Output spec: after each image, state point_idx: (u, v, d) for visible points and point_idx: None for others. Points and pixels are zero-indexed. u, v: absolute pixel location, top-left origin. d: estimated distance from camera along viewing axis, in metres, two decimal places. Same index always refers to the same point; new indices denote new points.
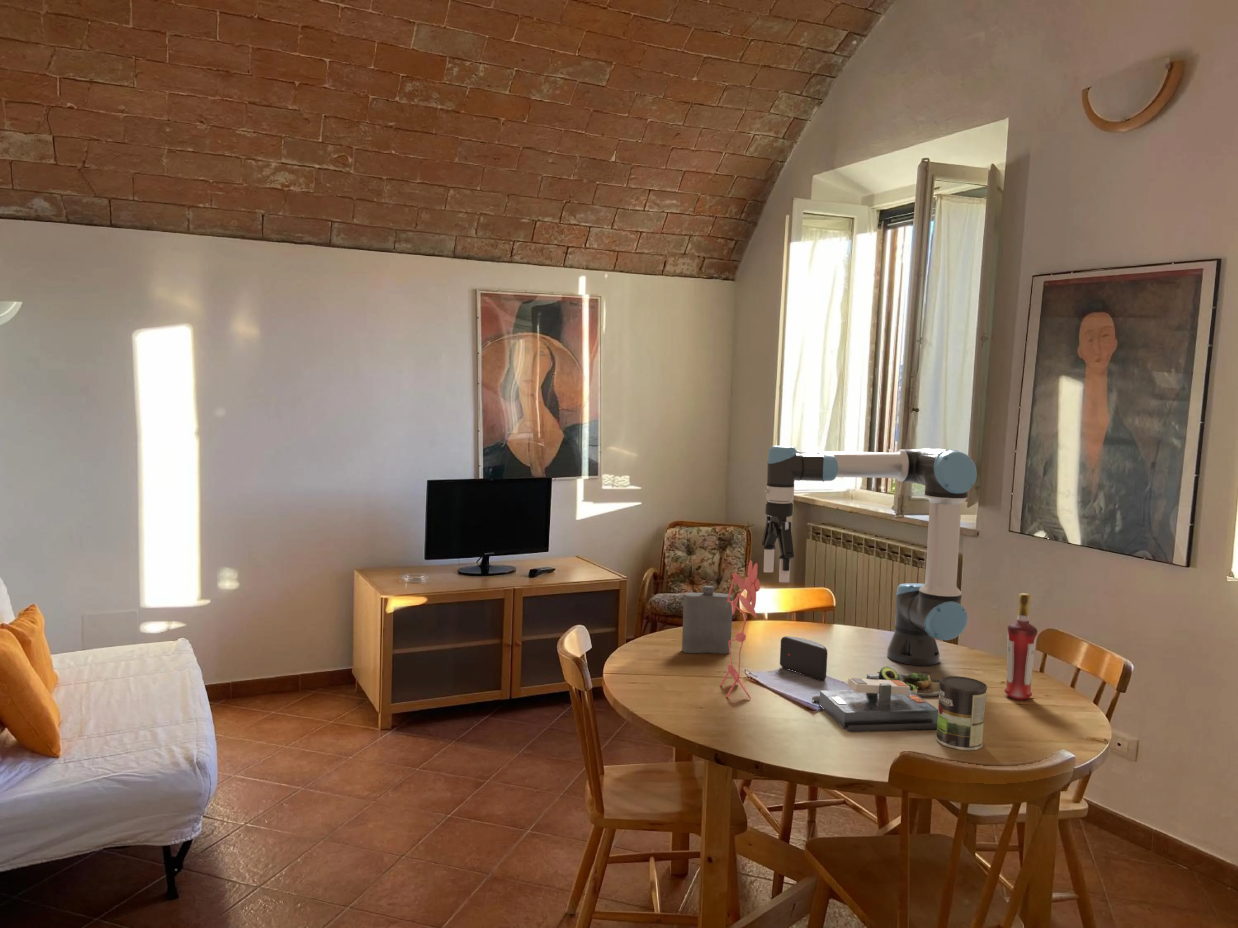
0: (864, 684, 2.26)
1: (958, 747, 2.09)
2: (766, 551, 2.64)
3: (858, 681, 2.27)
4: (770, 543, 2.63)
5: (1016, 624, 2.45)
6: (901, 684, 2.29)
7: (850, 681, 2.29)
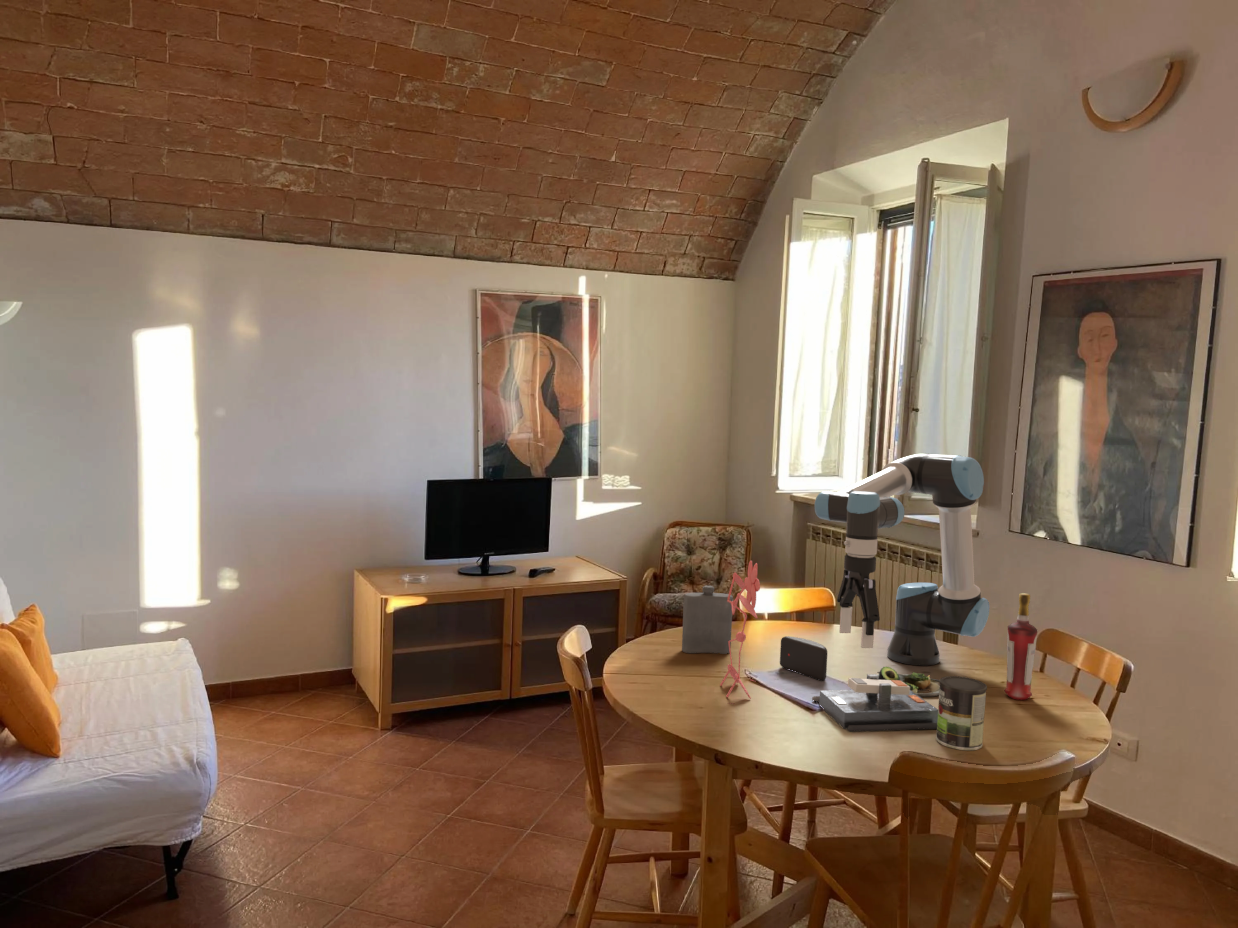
0: (864, 684, 2.26)
1: (958, 747, 2.09)
2: (843, 609, 2.34)
3: (858, 681, 2.27)
4: (847, 600, 2.33)
5: (1016, 624, 2.45)
6: (901, 684, 2.29)
7: (850, 681, 2.29)
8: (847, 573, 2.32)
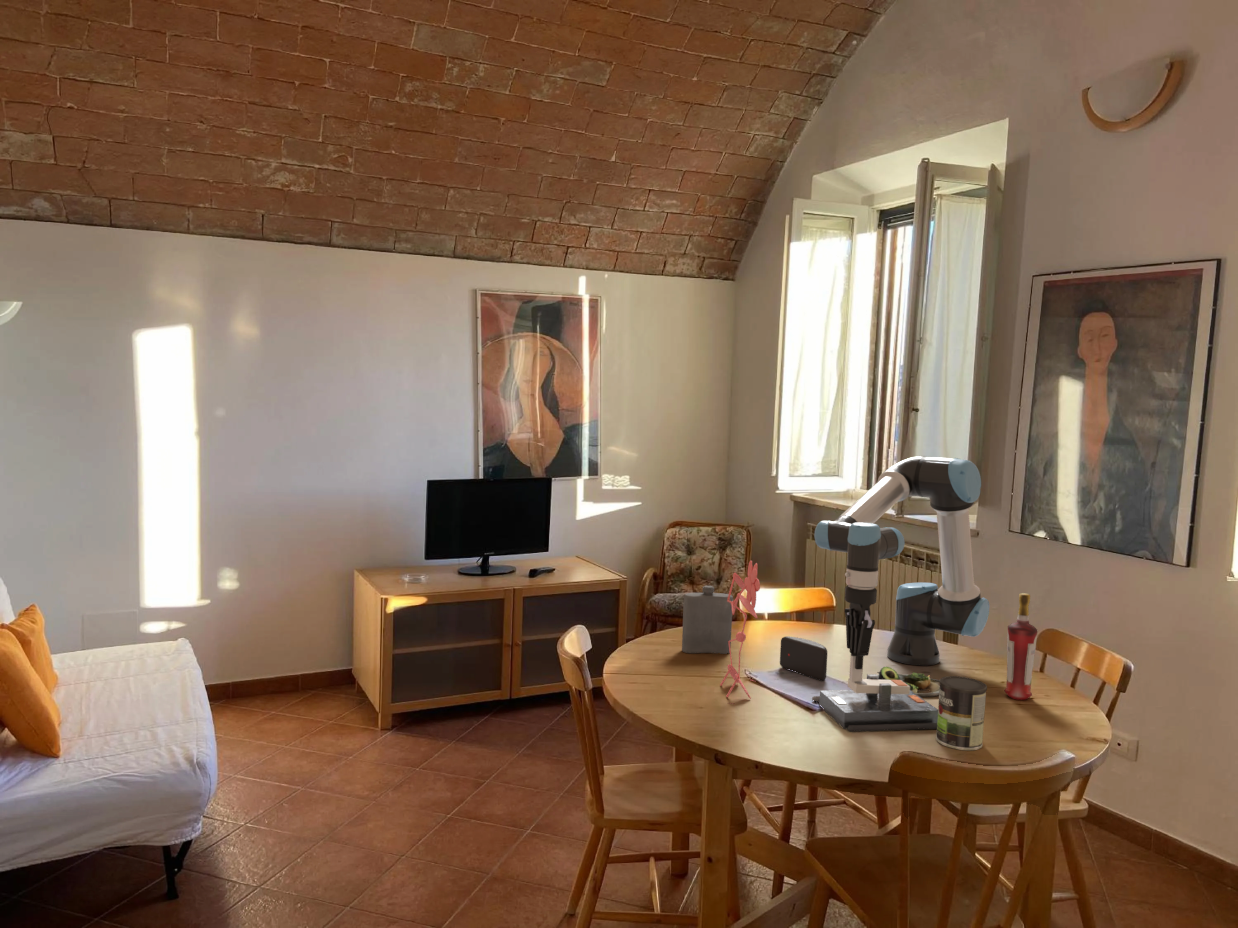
0: (864, 684, 2.26)
1: (958, 747, 2.09)
2: None
3: None
4: None
5: (1016, 624, 2.45)
6: (901, 684, 2.29)
7: (850, 682, 2.29)
8: (848, 611, 2.32)
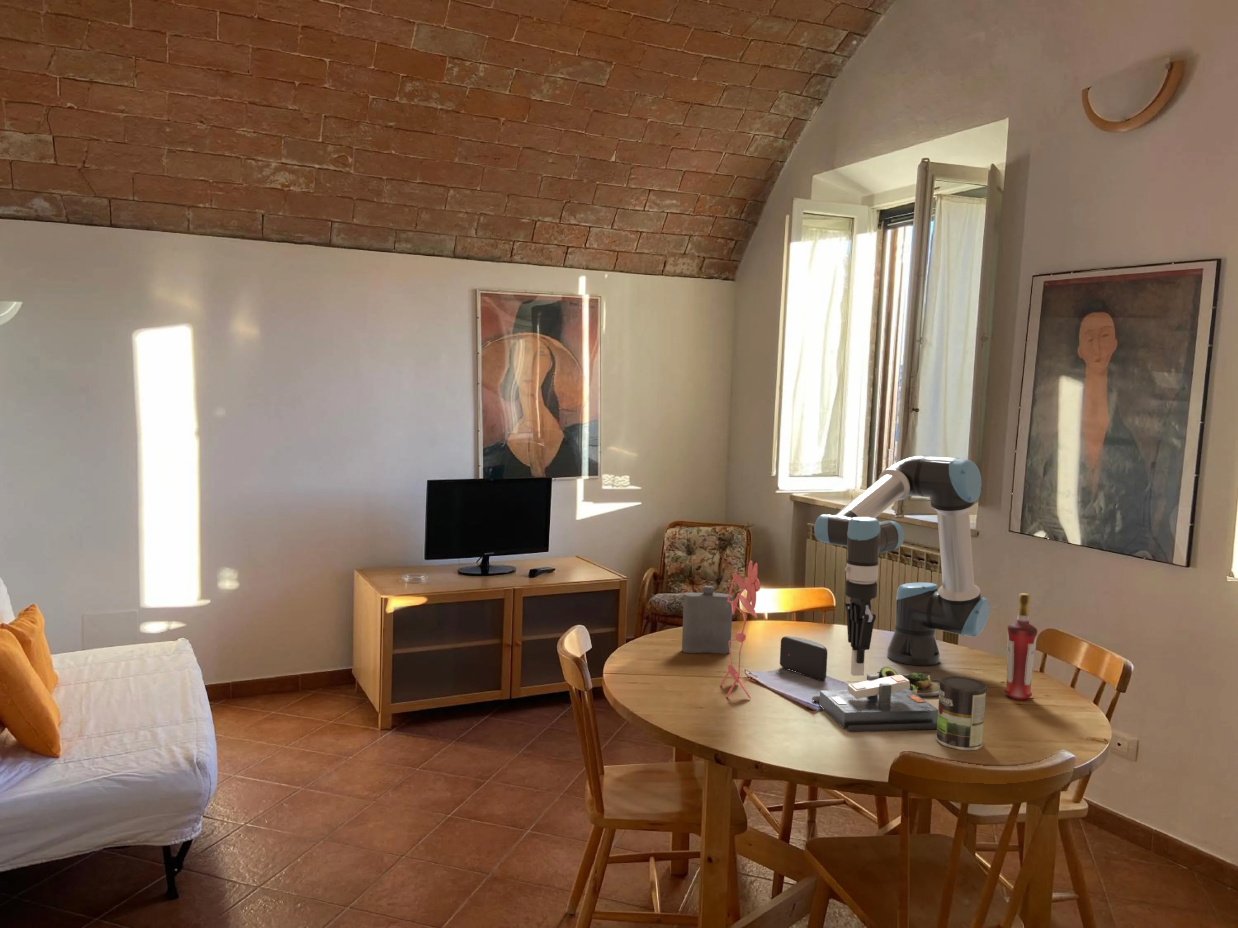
0: (863, 689, 2.26)
1: (958, 747, 2.09)
2: None
3: (857, 686, 2.27)
4: None
5: (1016, 624, 2.45)
6: (900, 679, 2.29)
7: (850, 688, 2.29)
8: (849, 605, 2.32)
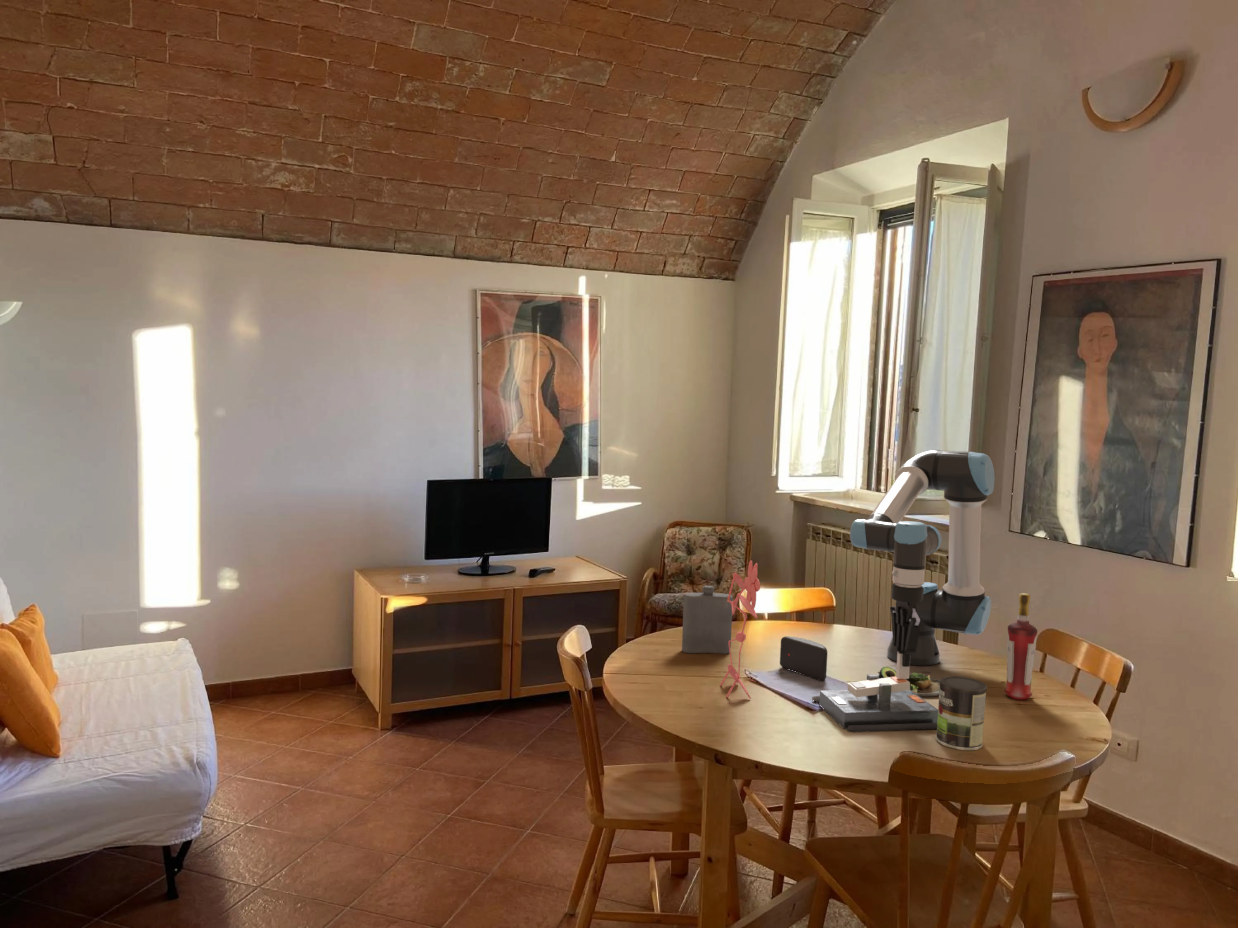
0: (863, 688, 2.26)
1: (958, 747, 2.09)
2: None
3: (857, 685, 2.27)
4: None
5: (1016, 624, 2.45)
6: (900, 680, 2.29)
7: (849, 686, 2.29)
8: (894, 609, 2.33)
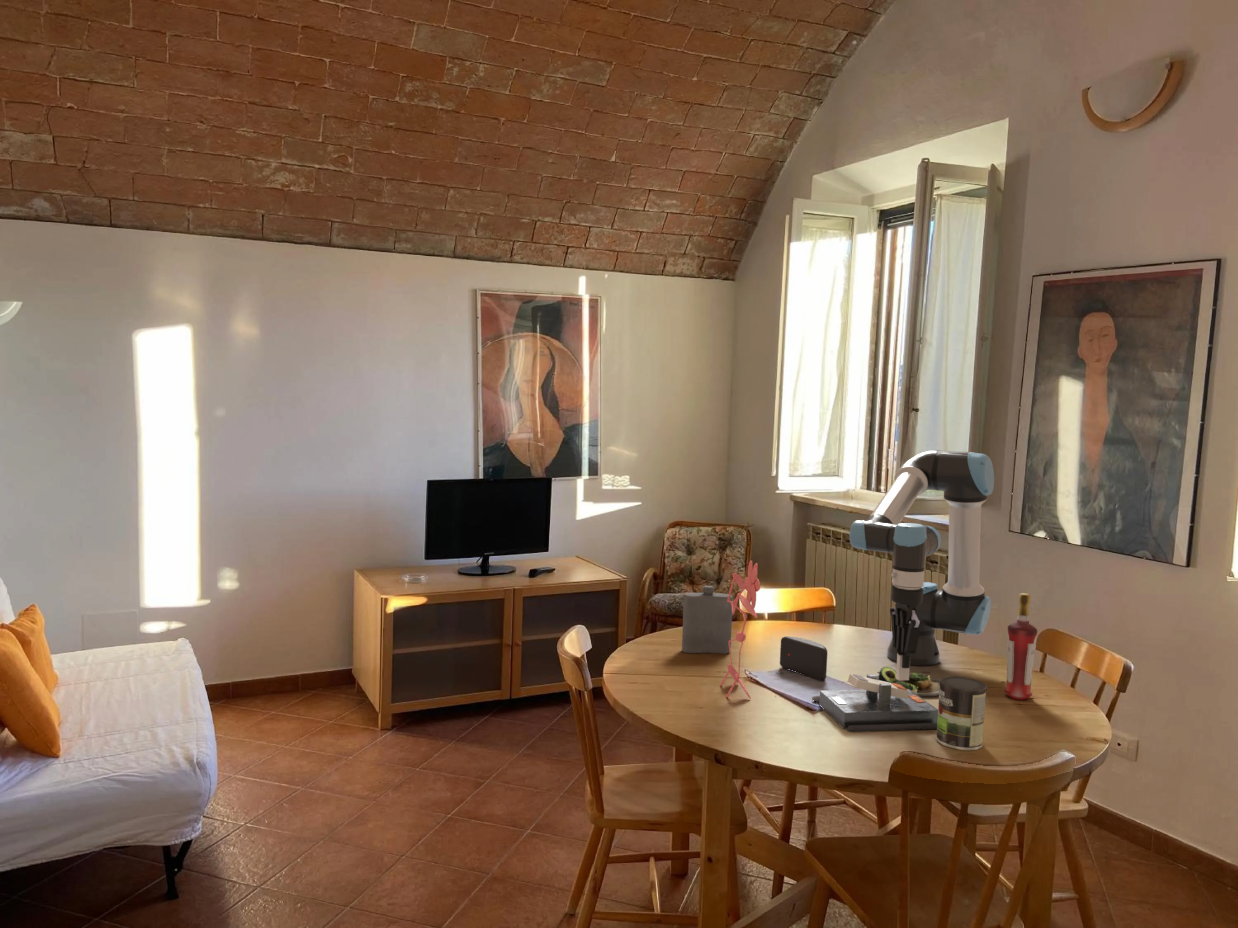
0: (865, 681, 2.26)
1: (958, 747, 2.09)
2: None
3: (859, 677, 2.27)
4: None
5: (1016, 624, 2.45)
6: (901, 687, 2.29)
7: (851, 677, 2.29)
8: (893, 610, 2.34)
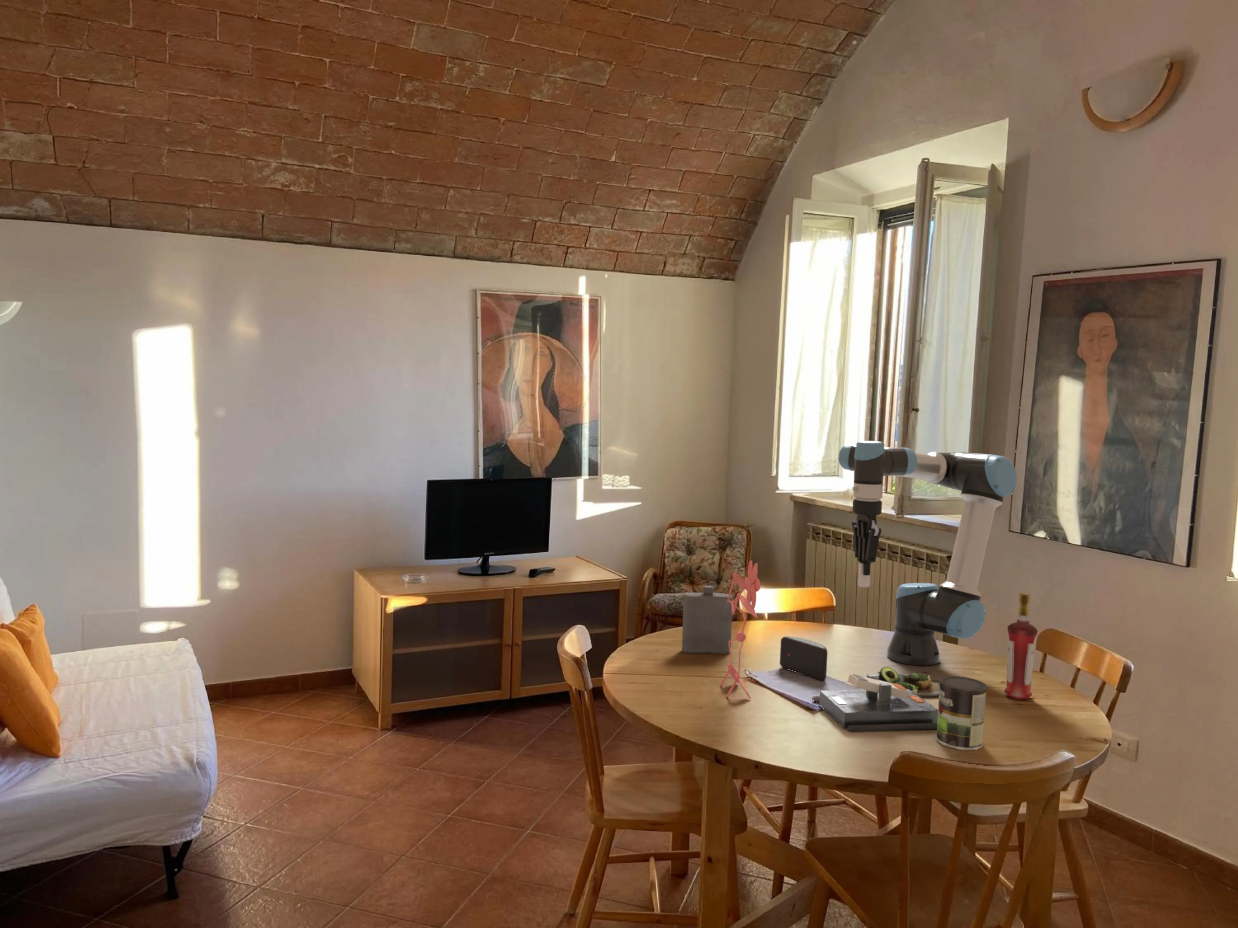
0: (865, 681, 2.26)
1: (958, 747, 2.09)
2: None
3: (859, 677, 2.27)
4: None
5: (1016, 624, 2.45)
6: (901, 687, 2.29)
7: (851, 677, 2.29)
8: (855, 523, 2.51)
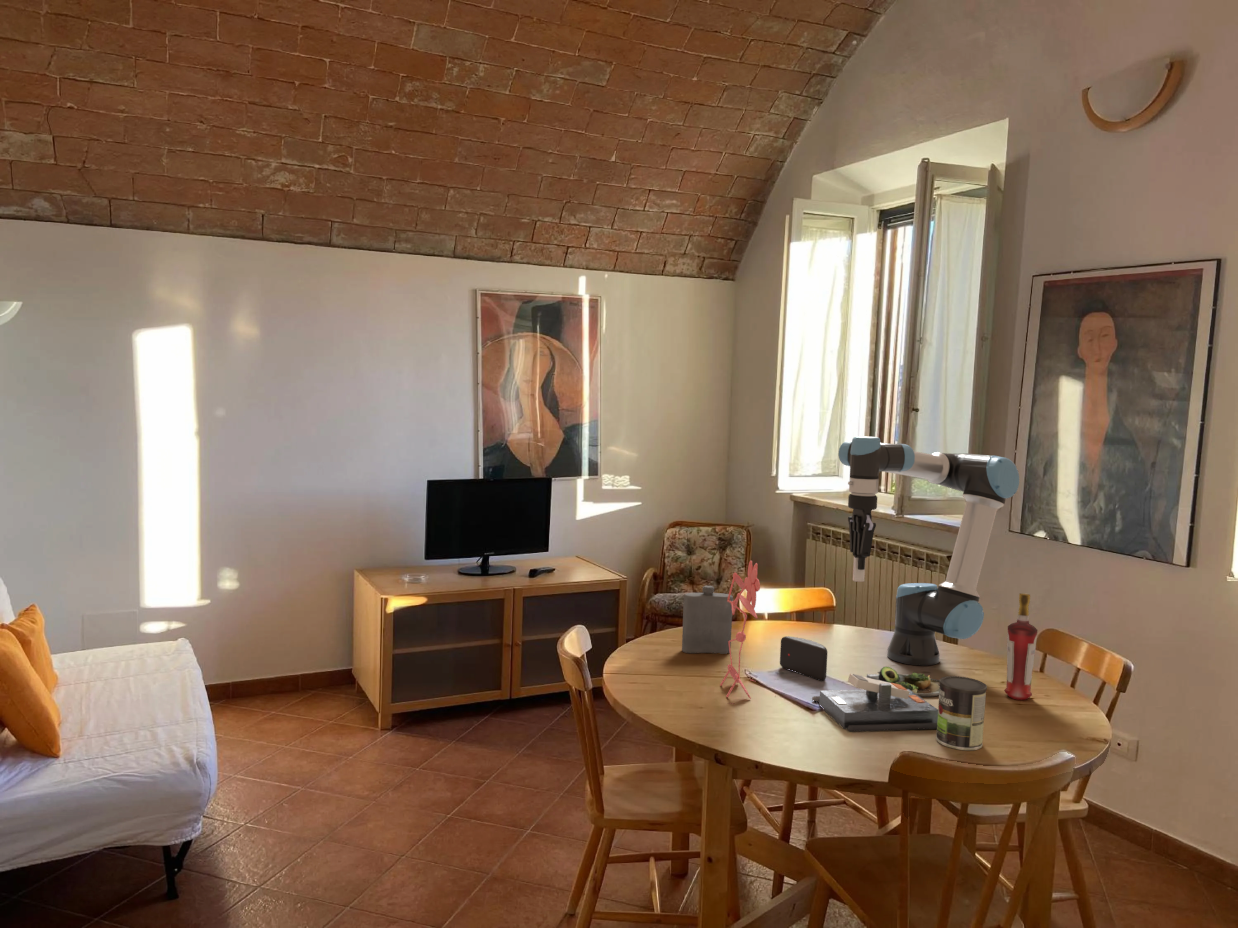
0: (865, 681, 2.26)
1: (958, 747, 2.09)
2: None
3: (859, 677, 2.27)
4: None
5: (1016, 624, 2.45)
6: (901, 687, 2.29)
7: (851, 677, 2.29)
8: (851, 518, 2.53)
